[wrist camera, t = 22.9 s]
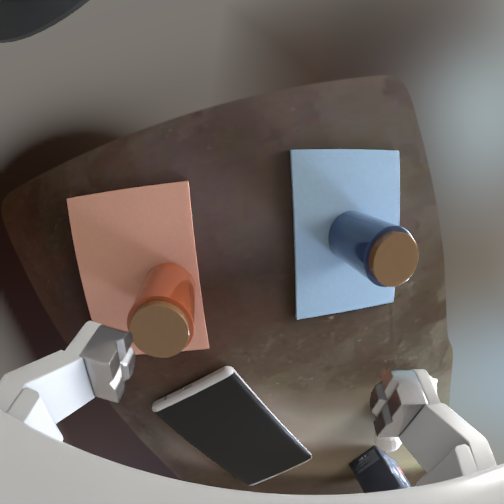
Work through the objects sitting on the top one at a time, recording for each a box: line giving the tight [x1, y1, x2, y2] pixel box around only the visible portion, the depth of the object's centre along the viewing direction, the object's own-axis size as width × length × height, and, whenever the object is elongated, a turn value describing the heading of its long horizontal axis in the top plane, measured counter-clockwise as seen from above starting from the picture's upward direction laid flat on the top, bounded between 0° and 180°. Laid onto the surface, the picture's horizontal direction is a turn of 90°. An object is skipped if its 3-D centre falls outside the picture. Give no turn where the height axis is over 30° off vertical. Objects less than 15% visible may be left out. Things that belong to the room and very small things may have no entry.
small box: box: [349, 446, 412, 493], centre depth 46 cm, size 13×7×12 cm, turn 40°
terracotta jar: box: [127, 263, 196, 358], centre depth 30 cm, size 6×6×10 cm
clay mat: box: [67, 181, 209, 355], centre depth 34 cm, size 20×14×1 cm
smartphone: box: [152, 366, 312, 486], centre depth 42 cm, size 13×27×2 cm, turn 31°
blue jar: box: [328, 211, 418, 287], centre depth 31 cm, size 6×6×10 cm
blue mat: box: [290, 149, 400, 319], centre depth 36 cm, size 20×14×1 cm
